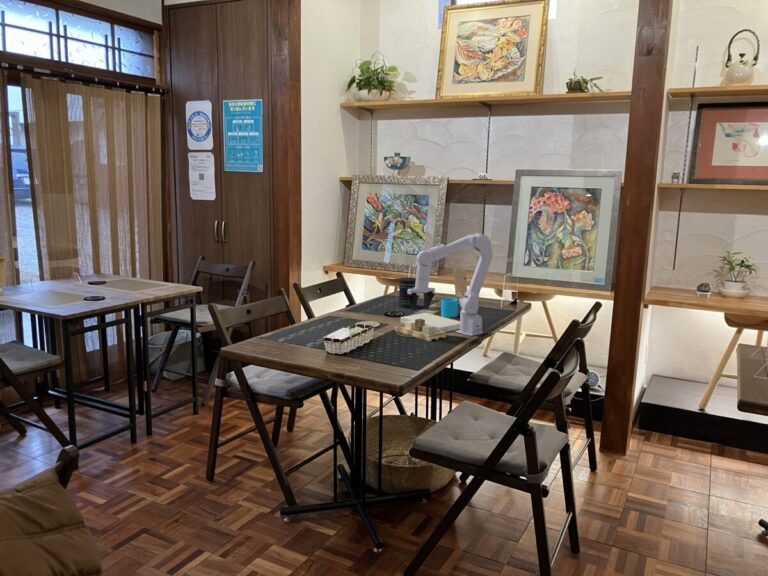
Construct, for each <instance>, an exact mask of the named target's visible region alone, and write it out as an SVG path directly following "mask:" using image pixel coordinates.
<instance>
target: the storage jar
mask: <svg viewBox="0 0 768 576" xmlns="http://www.w3.org/2000/svg"><path fill="white" fill-rule="evenodd" d="M415 283H416V277H400V278H398V290H399V296H398V308H400V309H406V310H407V309H408V310H409V309H411V305H410V301H409V298H408V296H407V292H408V289H412V288H414V287H415ZM416 294H417V295H418V293H416ZM417 304H418V303H417ZM417 304H416V308H417V307H418V305H417Z"/></svg>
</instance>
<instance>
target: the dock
mask: <svg viewBox="0 0 768 576" xmlns="http://www.w3.org/2000/svg"><path fill="white" fill-rule="evenodd" d="M415 319H424V320H425V326H427V325H431V326H435V327H436V330H440V331H444V332H446V333H447V332H452V331H457V330H460V320H457V319H452V318H450V317H443V316H441V315H437V314H433V313H429V312H422V313H417V314H412V315H405V316H400V323H401V324H405V321H411V320H412V321H415Z"/></svg>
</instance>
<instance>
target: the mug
mask: <svg viewBox="0 0 768 576" xmlns="http://www.w3.org/2000/svg"><path fill="white" fill-rule="evenodd" d="M440 304H441V305H440V307H441V309H440V311H441V312H440V316H441V317H445V318H456V317H457V318H458V308H459V307H458V306H459V299H458V298H454V297H445V298H441V303H440Z"/></svg>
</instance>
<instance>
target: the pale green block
mask: <svg viewBox="0 0 768 576" xmlns="http://www.w3.org/2000/svg"><path fill="white" fill-rule="evenodd" d="M435 330H436V327H435V326H431V325H427V326H422V333H424V334H427V335H431V334H435Z"/></svg>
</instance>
